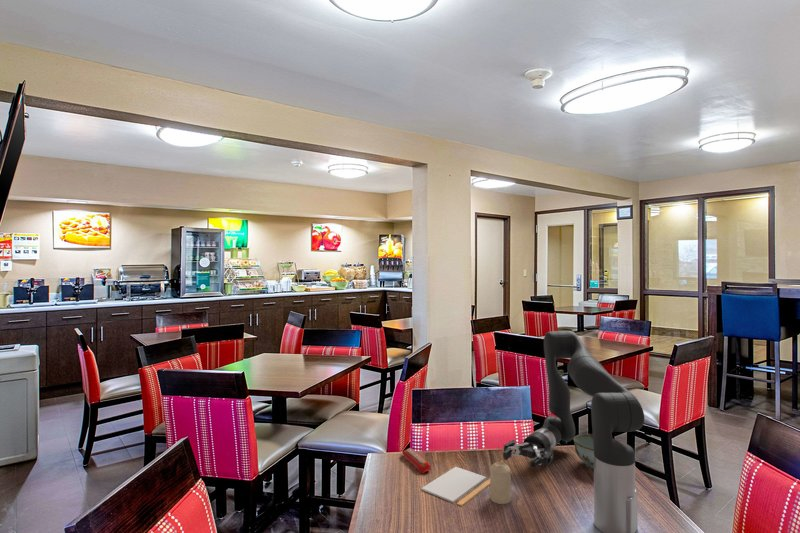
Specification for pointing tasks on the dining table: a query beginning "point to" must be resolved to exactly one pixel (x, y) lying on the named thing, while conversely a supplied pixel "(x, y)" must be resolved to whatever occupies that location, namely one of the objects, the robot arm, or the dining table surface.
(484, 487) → the wooden stick
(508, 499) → the candle
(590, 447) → the bowl
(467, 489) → the mat
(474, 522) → the dining table surface
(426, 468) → the candy bar
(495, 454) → the dining table surface
